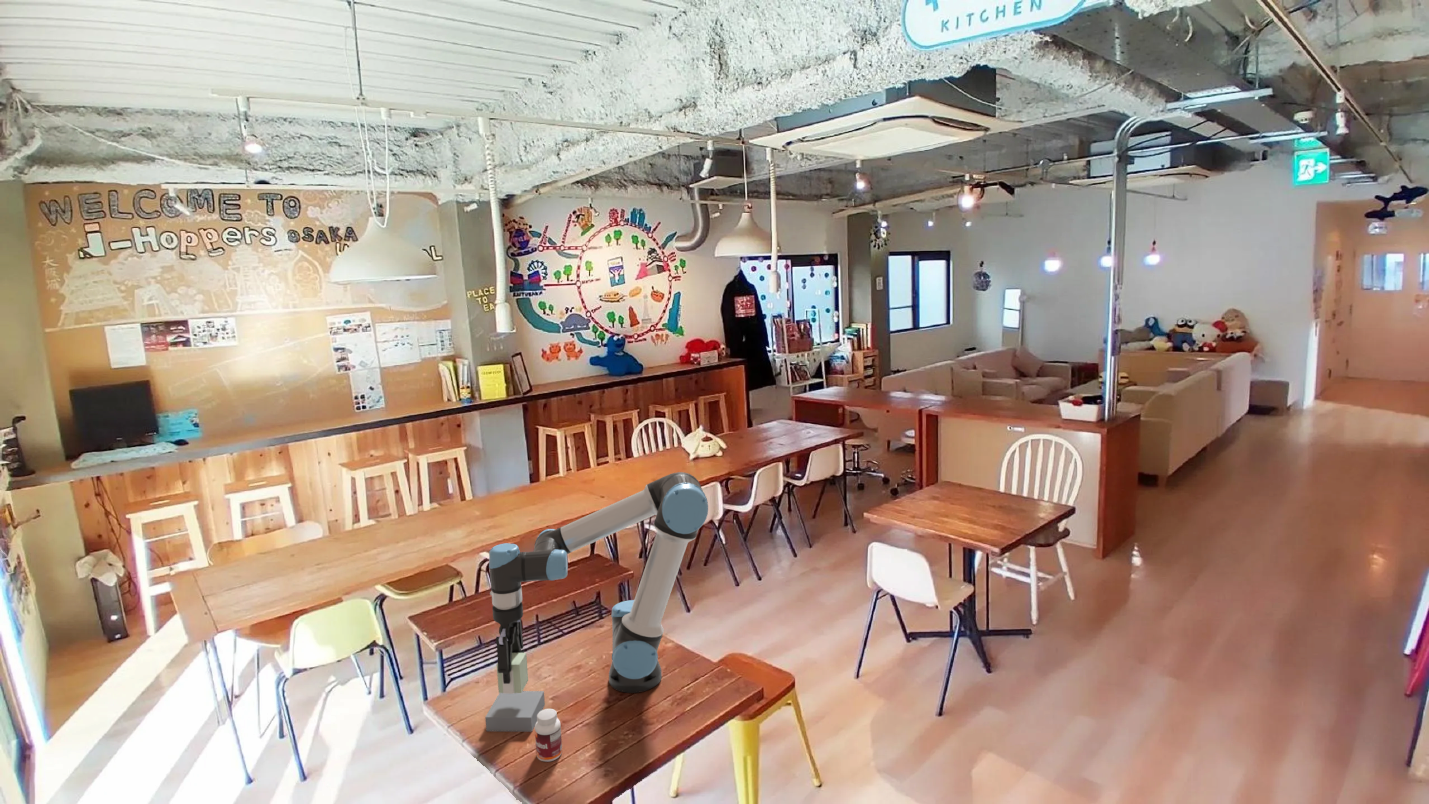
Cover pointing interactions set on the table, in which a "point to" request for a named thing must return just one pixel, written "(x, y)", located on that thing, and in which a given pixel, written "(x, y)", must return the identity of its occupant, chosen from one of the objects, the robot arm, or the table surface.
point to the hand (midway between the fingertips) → (513, 685)
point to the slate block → (515, 711)
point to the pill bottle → (548, 735)
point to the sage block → (516, 673)
